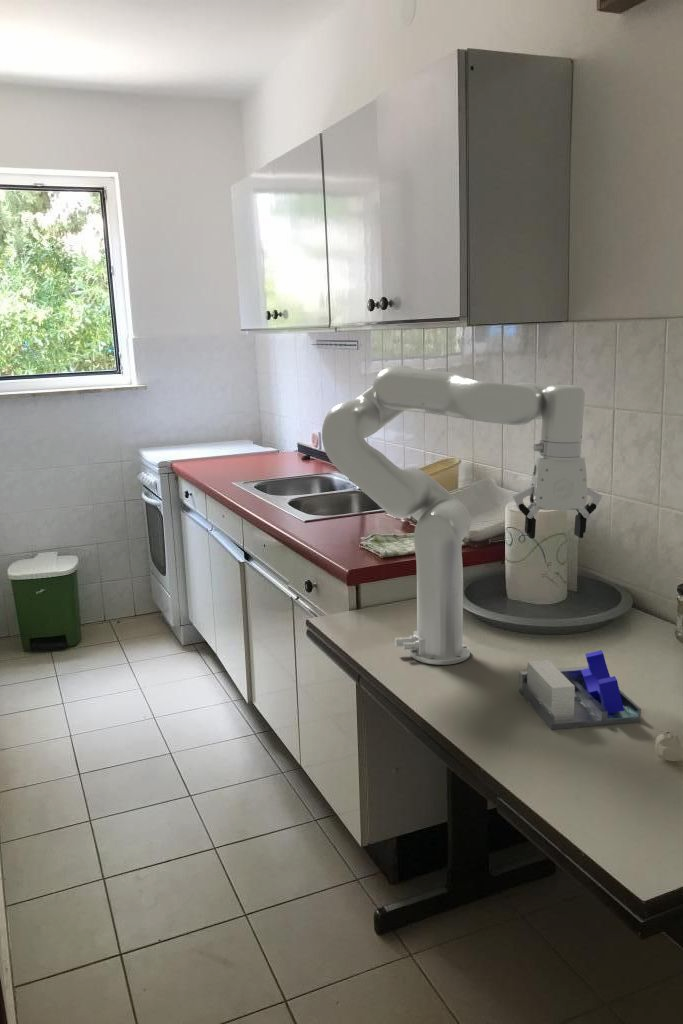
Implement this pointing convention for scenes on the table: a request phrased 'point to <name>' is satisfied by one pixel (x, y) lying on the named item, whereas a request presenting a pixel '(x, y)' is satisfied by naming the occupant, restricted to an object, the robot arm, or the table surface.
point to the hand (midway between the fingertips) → (554, 536)
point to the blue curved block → (602, 682)
